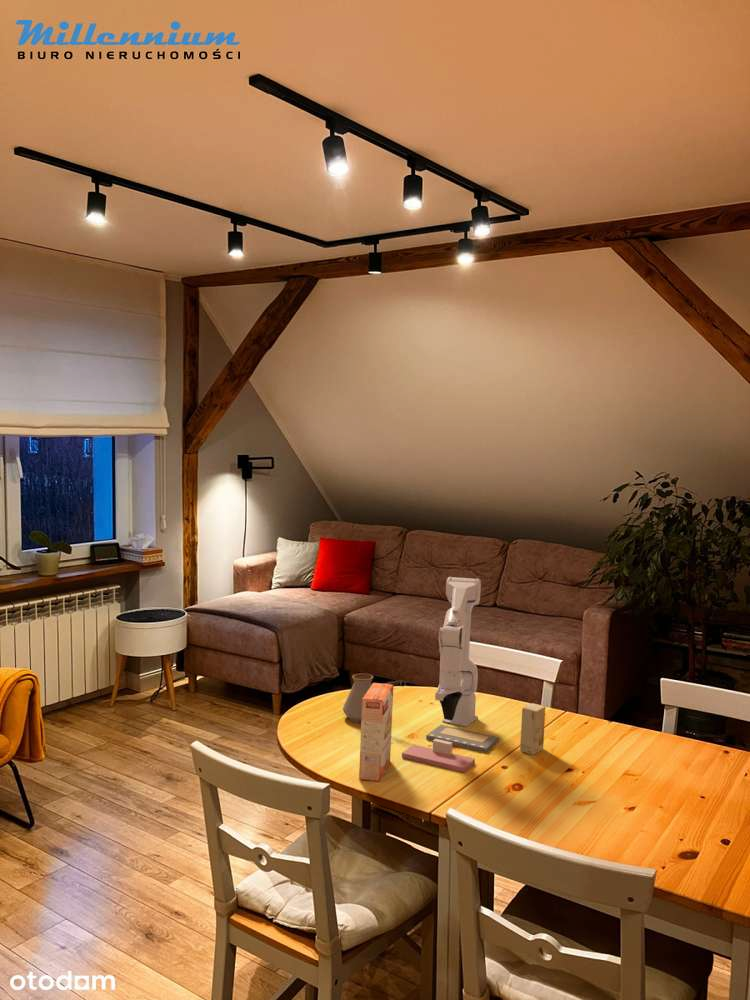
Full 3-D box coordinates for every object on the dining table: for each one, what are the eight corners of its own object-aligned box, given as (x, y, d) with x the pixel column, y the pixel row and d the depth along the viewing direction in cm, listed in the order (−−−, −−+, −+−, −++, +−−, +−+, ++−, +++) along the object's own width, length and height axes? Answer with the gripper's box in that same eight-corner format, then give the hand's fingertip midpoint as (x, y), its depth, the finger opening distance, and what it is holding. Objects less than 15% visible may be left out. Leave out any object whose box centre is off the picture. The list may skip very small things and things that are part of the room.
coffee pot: (334, 718, 247) (335, 669, 245) (359, 708, 255) (360, 661, 254) (390, 736, 233) (392, 685, 232) (414, 725, 242) (416, 676, 241)
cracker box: (381, 783, 203) (384, 700, 201) (358, 780, 204) (360, 698, 202) (392, 760, 216) (394, 683, 214) (369, 758, 217) (371, 681, 216)
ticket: (440, 728, 240) (440, 723, 240) (498, 741, 232) (499, 736, 232) (426, 739, 232) (426, 734, 232) (486, 753, 223) (486, 748, 223)
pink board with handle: (413, 748, 225) (413, 733, 224) (474, 763, 216) (475, 747, 216) (401, 757, 218) (402, 741, 218) (464, 772, 210) (464, 756, 209)
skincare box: (533, 755, 222) (535, 711, 221) (519, 751, 225) (521, 708, 224) (544, 748, 227) (546, 705, 226) (530, 744, 230) (532, 702, 229)
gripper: (453, 679, 212) (451, 730, 214) (474, 665, 225) (472, 714, 226) (428, 674, 216) (427, 724, 217) (450, 661, 228) (449, 709, 230)
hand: (448, 719), depth 222 cm, fingers closed
